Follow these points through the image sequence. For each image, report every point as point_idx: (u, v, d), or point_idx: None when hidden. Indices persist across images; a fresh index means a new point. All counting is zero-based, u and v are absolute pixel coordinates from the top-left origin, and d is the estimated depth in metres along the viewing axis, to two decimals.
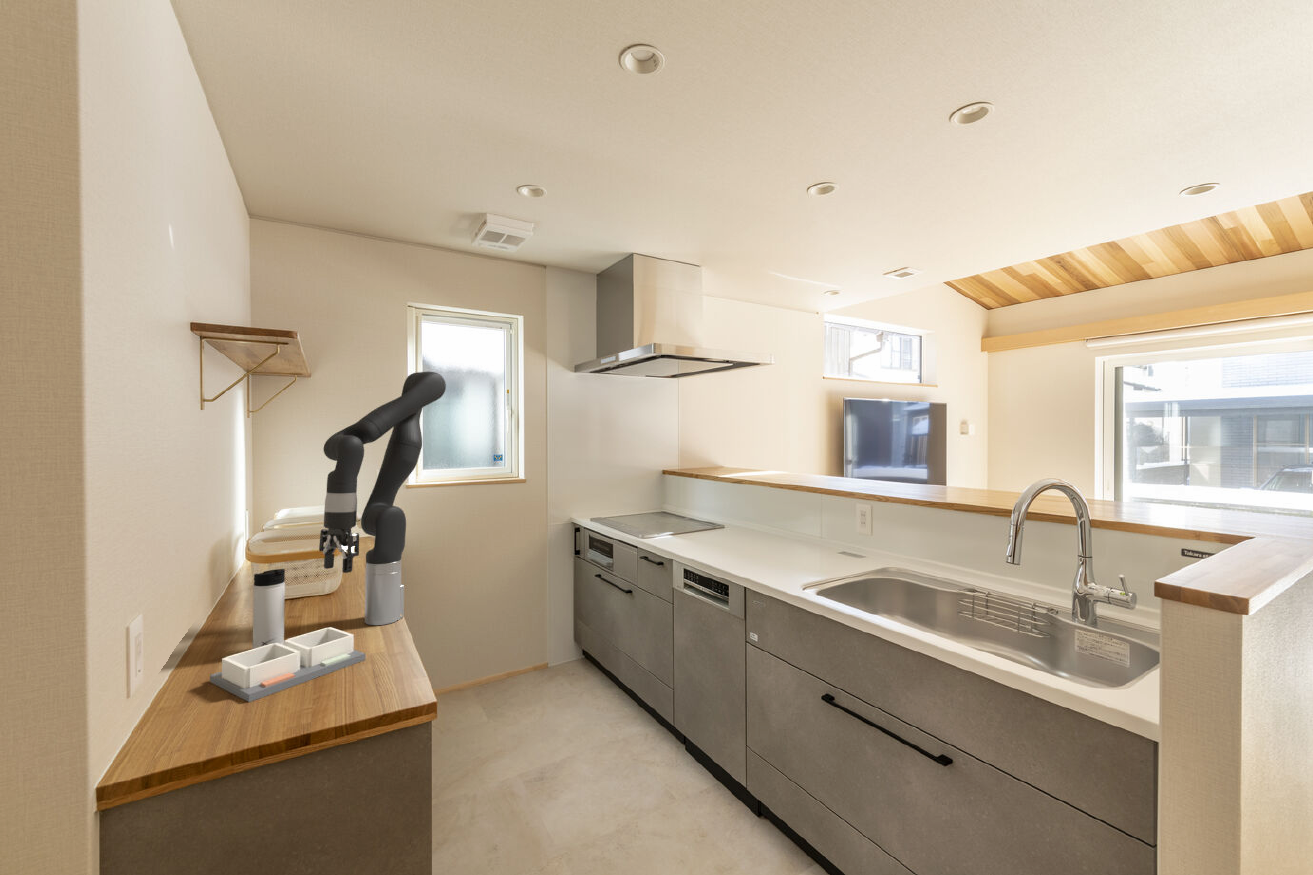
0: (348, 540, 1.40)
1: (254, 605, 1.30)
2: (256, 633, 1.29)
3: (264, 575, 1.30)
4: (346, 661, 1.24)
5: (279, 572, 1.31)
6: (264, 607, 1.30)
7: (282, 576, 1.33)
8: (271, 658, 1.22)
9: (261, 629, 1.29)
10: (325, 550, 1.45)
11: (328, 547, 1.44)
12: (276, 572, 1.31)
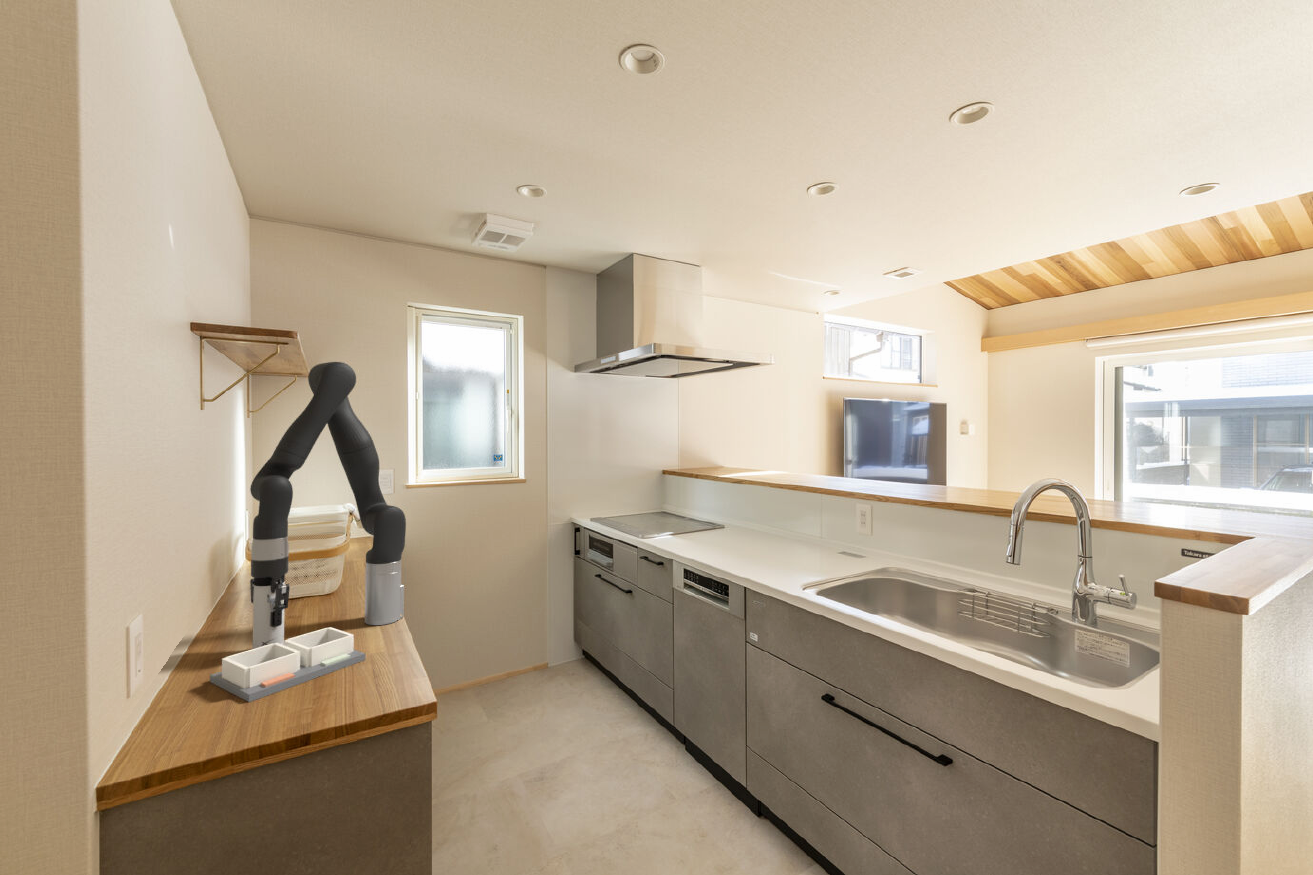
0: (276, 593, 1.28)
1: (254, 605, 1.30)
2: (256, 633, 1.29)
3: None
4: (346, 661, 1.24)
5: None
6: (264, 607, 1.29)
7: (282, 576, 1.33)
8: (271, 658, 1.22)
9: (261, 629, 1.29)
10: None
11: None
12: None
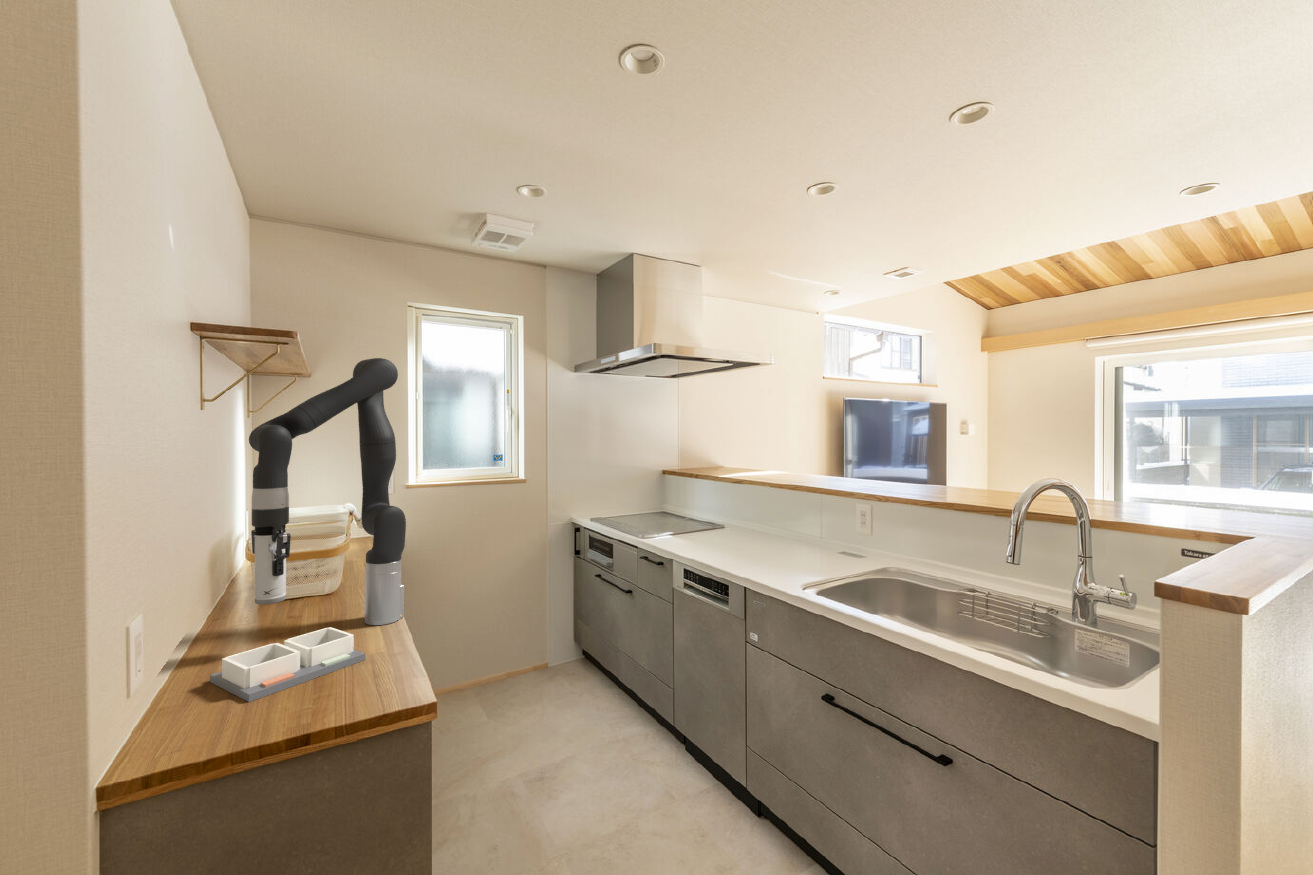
0: (277, 541, 1.28)
1: (255, 555, 1.30)
2: (258, 582, 1.29)
3: None
4: (346, 661, 1.24)
5: None
6: (266, 556, 1.29)
7: (283, 526, 1.33)
8: (271, 658, 1.22)
9: (263, 579, 1.29)
10: None
11: None
12: None
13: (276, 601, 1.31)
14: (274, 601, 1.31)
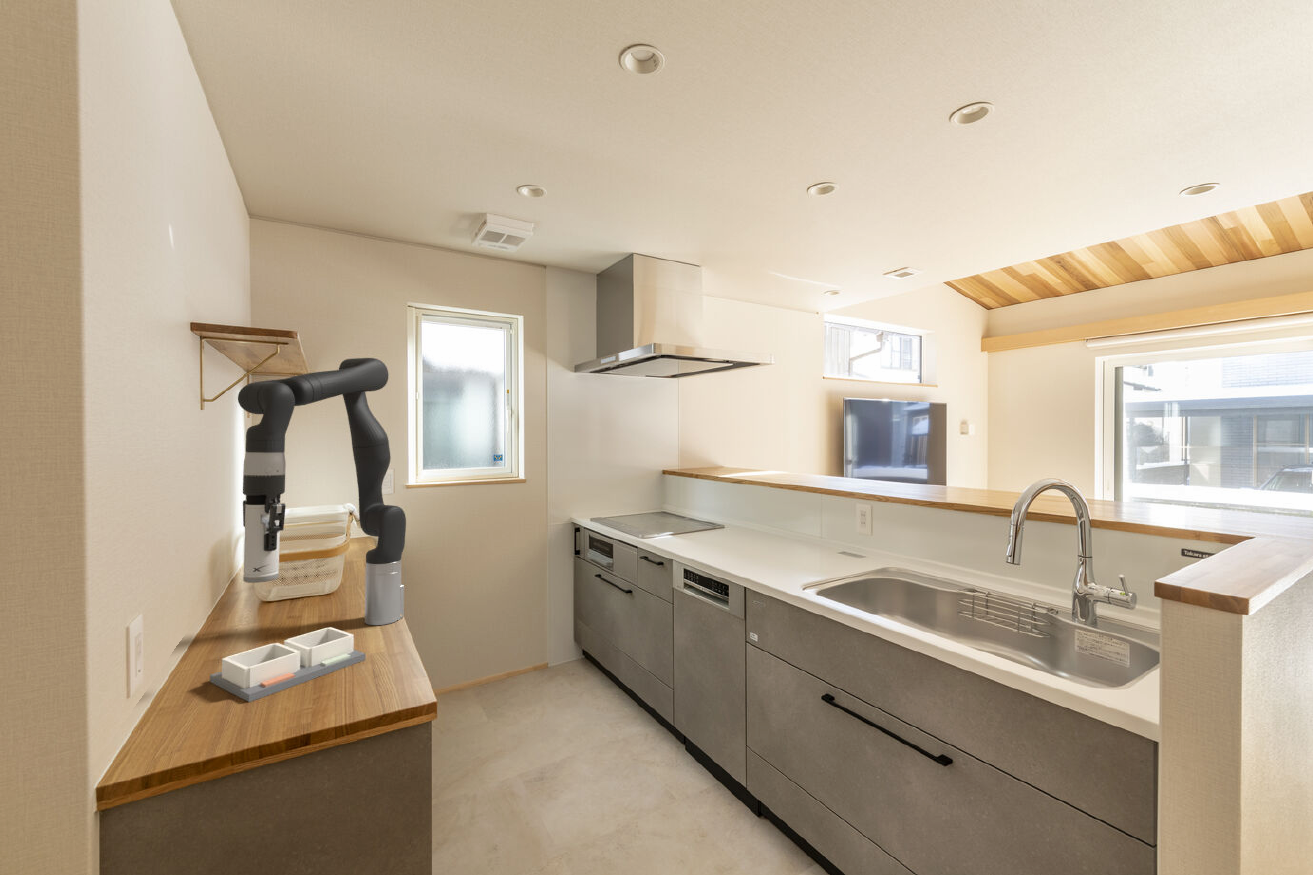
0: (270, 511, 1.14)
1: (246, 526, 1.16)
2: (247, 557, 1.15)
3: None
4: (346, 661, 1.24)
5: None
6: (257, 528, 1.15)
7: (277, 496, 1.19)
8: (271, 658, 1.22)
9: (253, 553, 1.15)
10: None
11: None
12: None
13: (267, 579, 1.16)
14: (265, 579, 1.16)
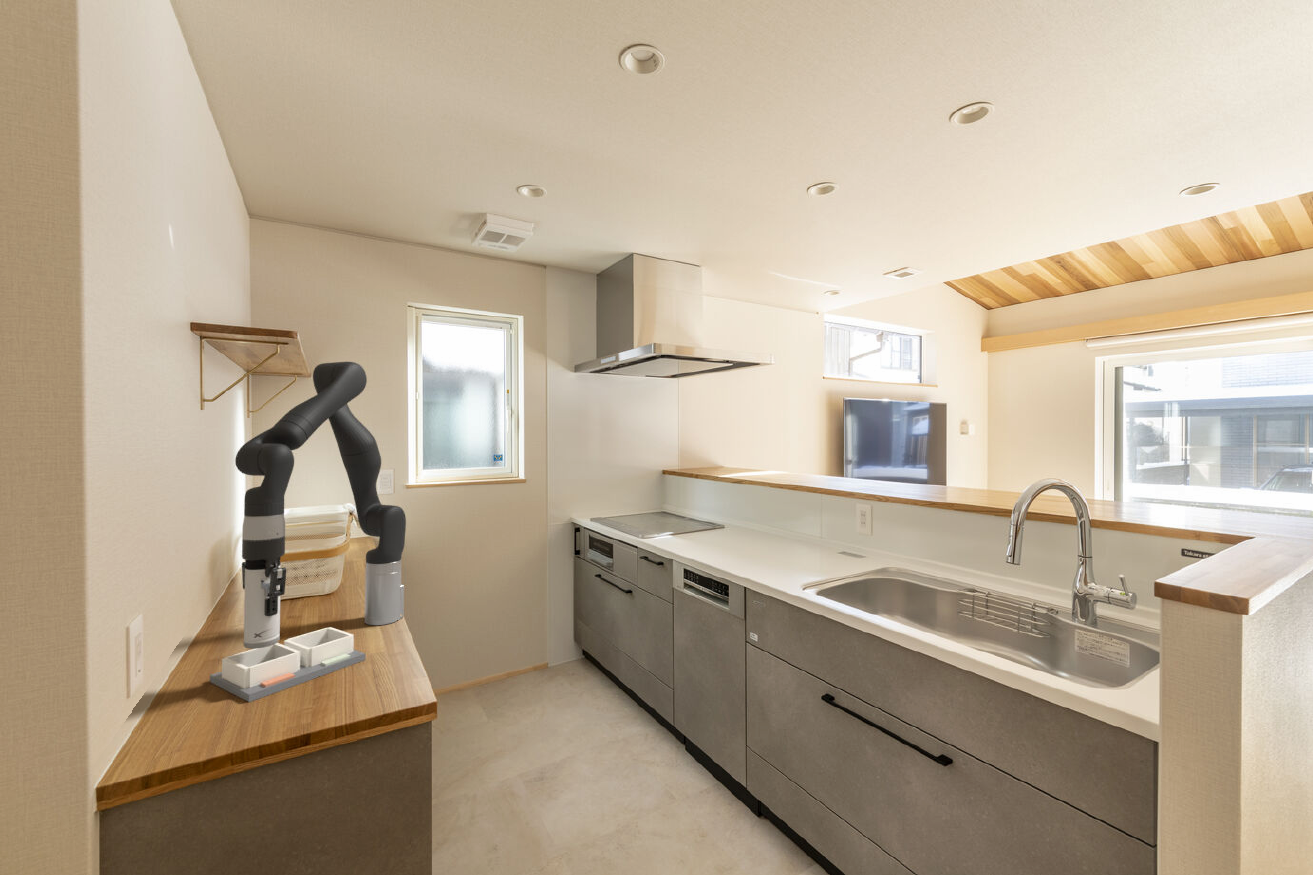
0: (271, 577, 1.13)
1: (245, 591, 1.14)
2: (248, 623, 1.13)
3: None
4: (346, 661, 1.24)
5: None
6: (257, 594, 1.14)
7: (277, 559, 1.17)
8: (271, 658, 1.22)
9: (253, 619, 1.13)
10: None
11: None
12: None
13: (268, 644, 1.15)
14: (266, 644, 1.14)
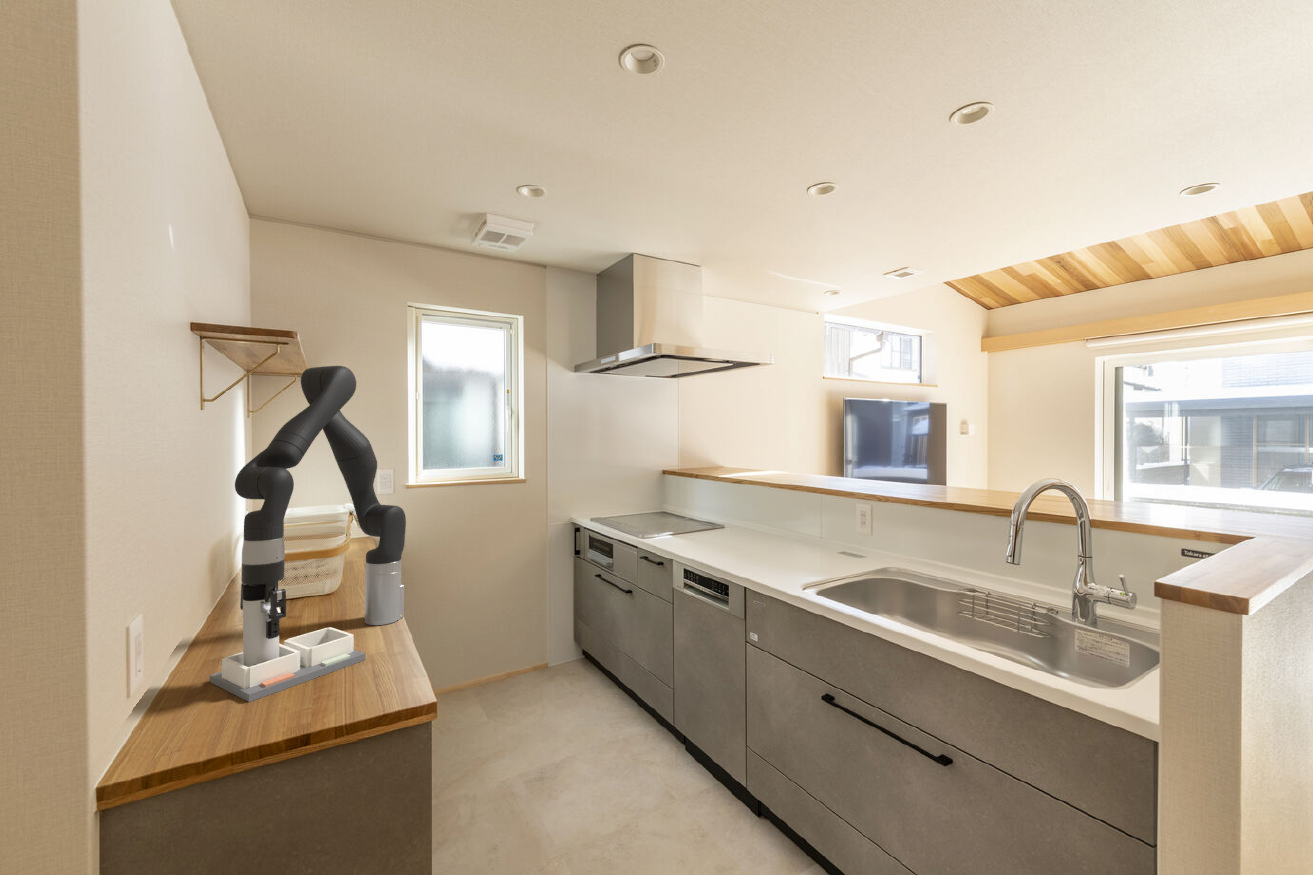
0: (271, 599, 1.12)
1: (244, 622, 1.14)
2: (247, 654, 1.13)
3: (254, 588, 1.13)
4: (346, 661, 1.24)
5: None
6: (256, 624, 1.13)
7: None
8: None
9: (252, 650, 1.13)
10: None
11: None
12: None
13: None
14: None
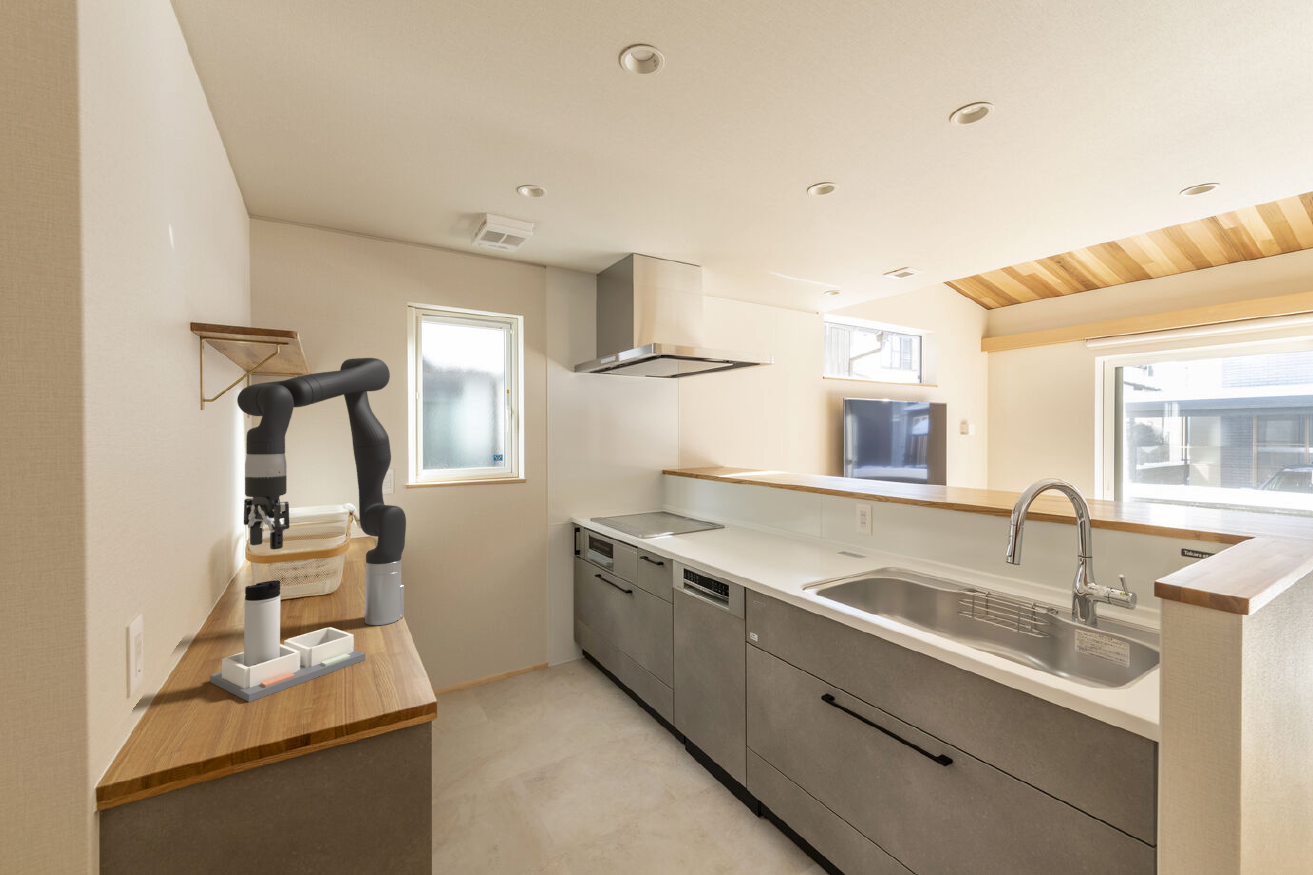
0: (275, 510, 1.16)
1: (245, 622, 1.14)
2: (248, 654, 1.13)
3: (257, 588, 1.14)
4: (346, 661, 1.24)
5: (274, 584, 1.15)
6: (257, 624, 1.14)
7: (277, 589, 1.17)
8: None
9: (253, 650, 1.13)
10: (250, 523, 1.21)
11: (253, 520, 1.20)
12: (270, 584, 1.15)
13: None
14: None
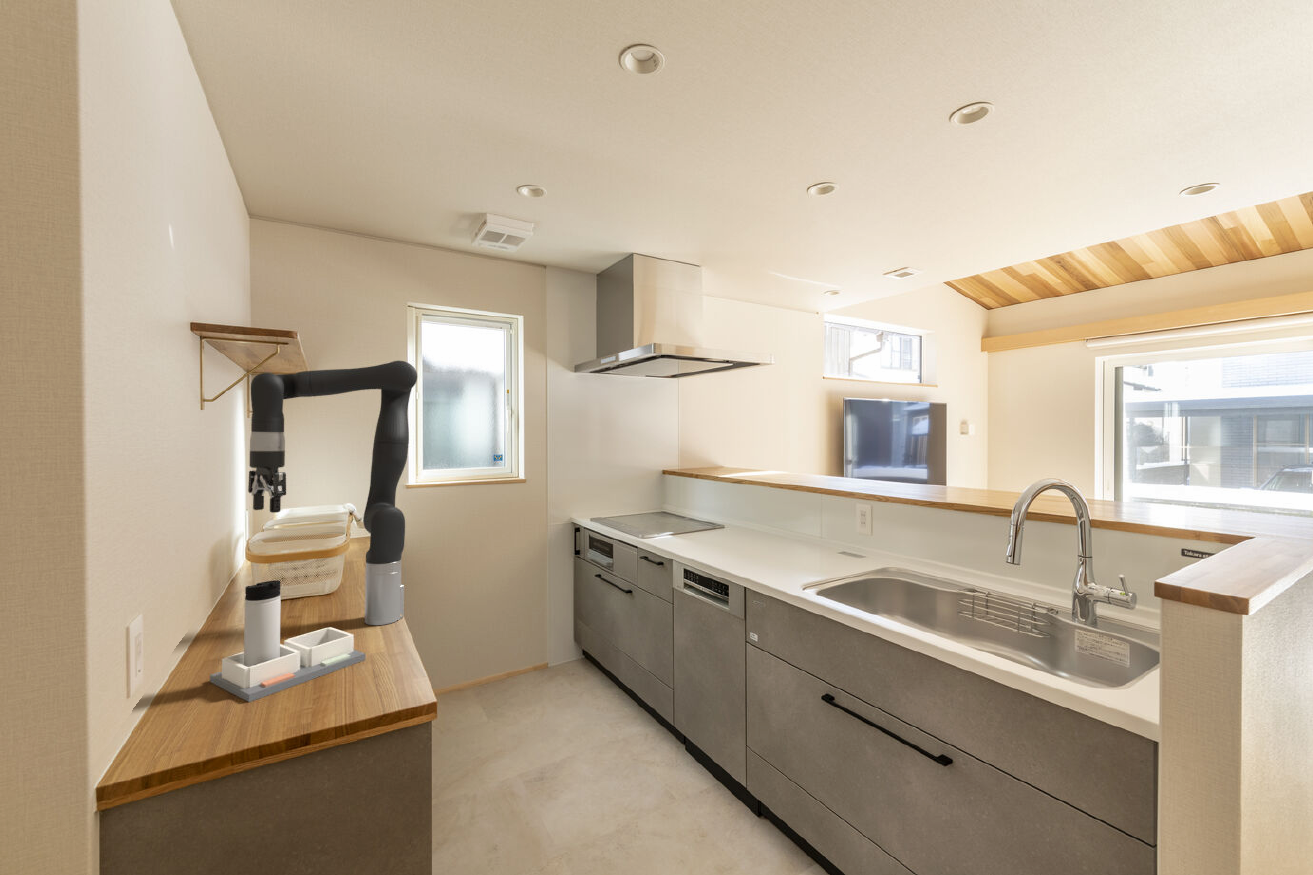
0: (274, 479, 1.37)
1: (245, 622, 1.14)
2: (248, 654, 1.13)
3: (257, 588, 1.14)
4: (346, 661, 1.24)
5: (274, 584, 1.15)
6: (257, 624, 1.14)
7: (277, 589, 1.17)
8: None
9: (253, 650, 1.13)
10: (253, 491, 1.42)
11: (256, 488, 1.42)
12: (271, 584, 1.15)
13: None
14: None
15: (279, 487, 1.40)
